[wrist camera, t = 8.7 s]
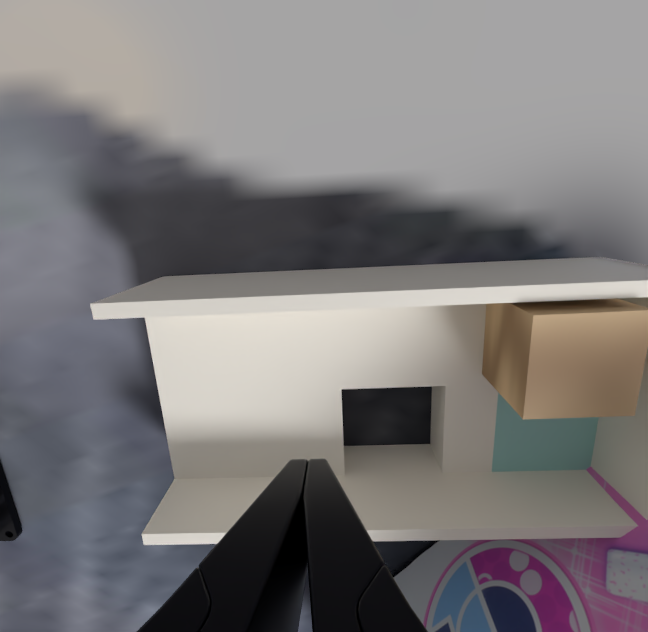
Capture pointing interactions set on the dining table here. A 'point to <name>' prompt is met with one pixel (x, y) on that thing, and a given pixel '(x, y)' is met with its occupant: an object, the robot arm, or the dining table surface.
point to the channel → (379, 372)
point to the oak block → (566, 356)
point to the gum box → (534, 582)
